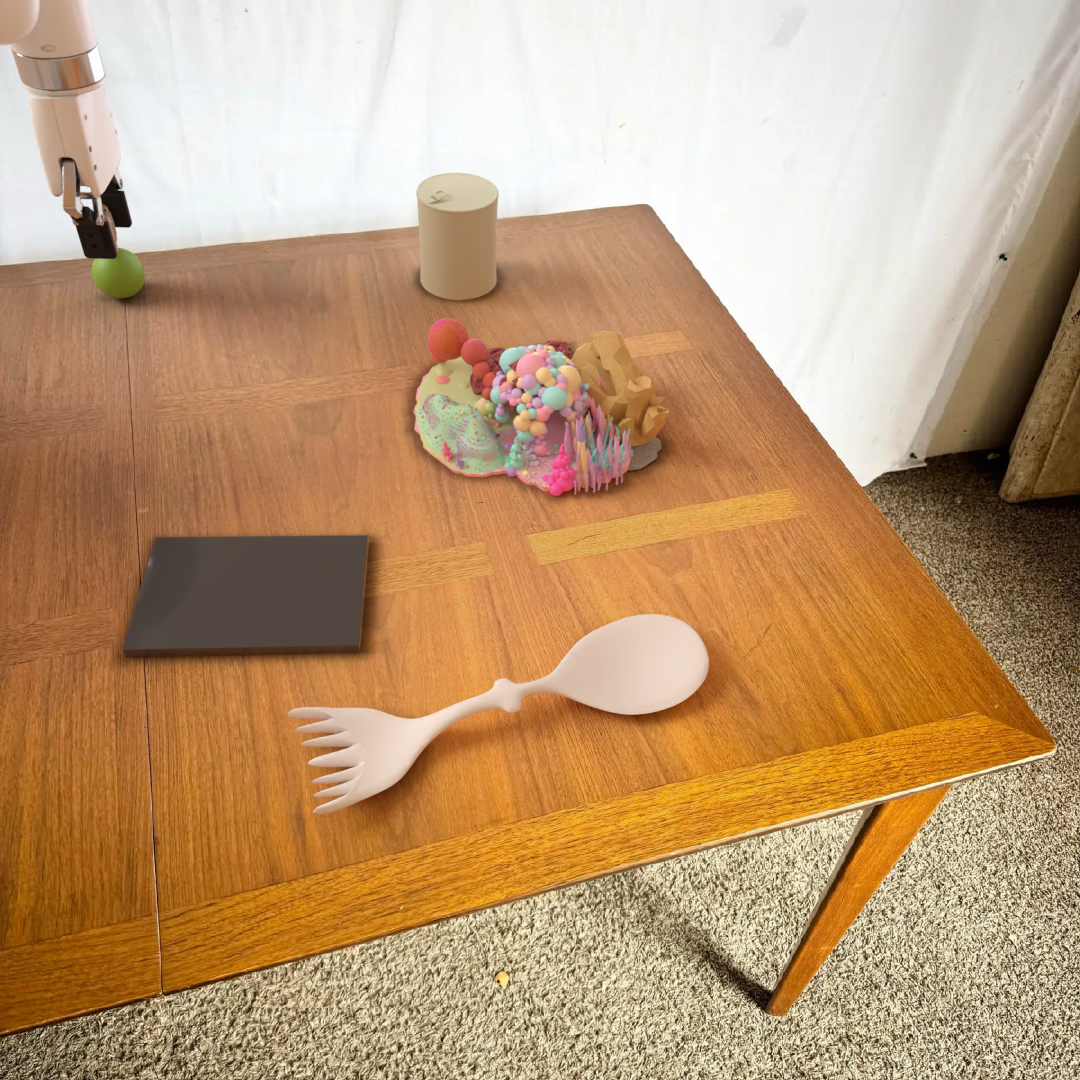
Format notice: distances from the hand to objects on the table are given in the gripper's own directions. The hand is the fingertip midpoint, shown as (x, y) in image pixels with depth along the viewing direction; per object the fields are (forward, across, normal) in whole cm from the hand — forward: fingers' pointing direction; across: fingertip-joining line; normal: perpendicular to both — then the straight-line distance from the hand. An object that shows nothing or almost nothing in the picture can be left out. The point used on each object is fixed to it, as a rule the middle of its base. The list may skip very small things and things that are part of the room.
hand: (109, 239), depth 103 cm
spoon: (+8, +56, +41) cm, 70 cm away
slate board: (+8, +44, +20) cm, 50 cm away
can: (+7, -5, +38) cm, 38 cm away
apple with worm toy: (+7, 0, 0) cm, 7 cm away
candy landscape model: (+7, +21, +46) cm, 51 cm away
